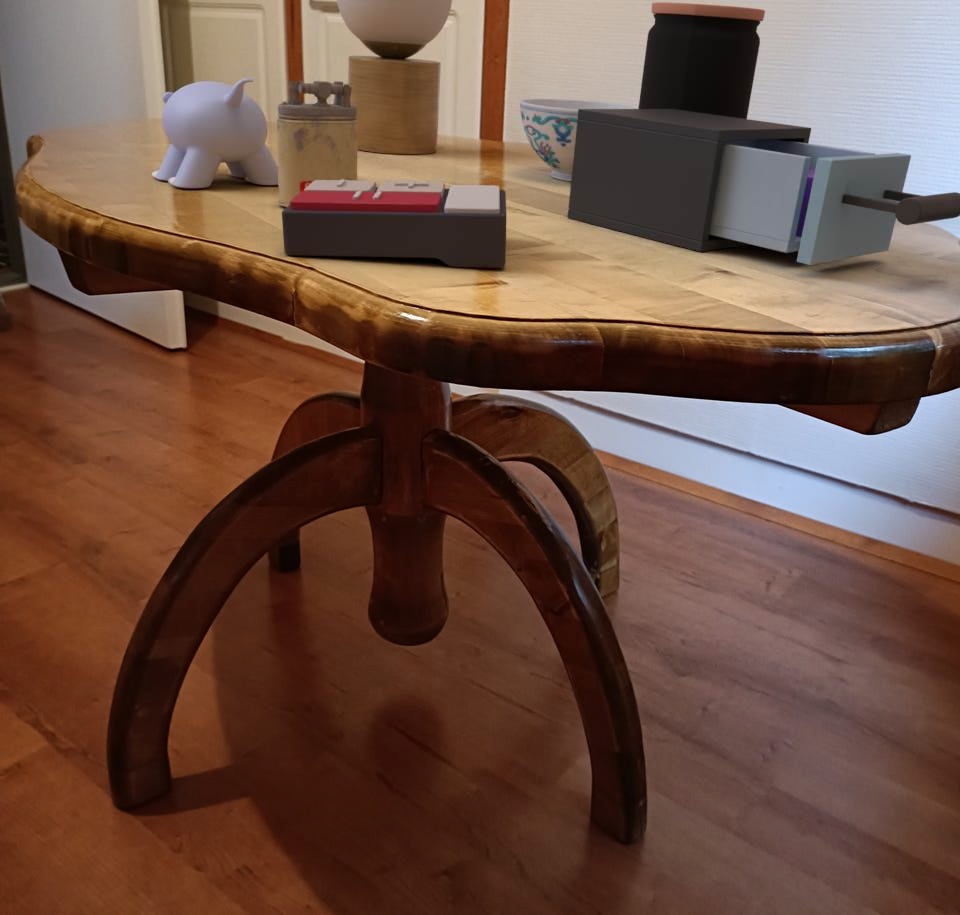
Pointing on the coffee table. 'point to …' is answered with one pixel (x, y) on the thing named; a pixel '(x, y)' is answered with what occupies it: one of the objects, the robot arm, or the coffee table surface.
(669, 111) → the drawer cabinet
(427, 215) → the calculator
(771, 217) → the grey drawer
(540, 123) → the chinaware
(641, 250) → the coffee table surface
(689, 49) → the coffee jar
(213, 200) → the coffee table surface
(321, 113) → the lighter
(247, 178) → the hippopotamus toy
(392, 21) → the lamp
